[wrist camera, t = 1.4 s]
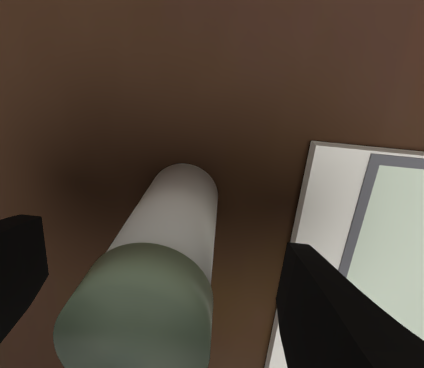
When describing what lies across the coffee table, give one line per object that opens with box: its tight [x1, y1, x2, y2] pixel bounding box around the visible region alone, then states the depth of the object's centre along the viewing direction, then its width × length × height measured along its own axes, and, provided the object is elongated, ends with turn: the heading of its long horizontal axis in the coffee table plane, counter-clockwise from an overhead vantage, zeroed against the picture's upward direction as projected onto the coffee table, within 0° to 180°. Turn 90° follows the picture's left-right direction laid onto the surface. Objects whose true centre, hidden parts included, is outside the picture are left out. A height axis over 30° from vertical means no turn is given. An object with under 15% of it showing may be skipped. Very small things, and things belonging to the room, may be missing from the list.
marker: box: [53, 163, 218, 368], centre depth 10 cm, size 3×3×8 cm
